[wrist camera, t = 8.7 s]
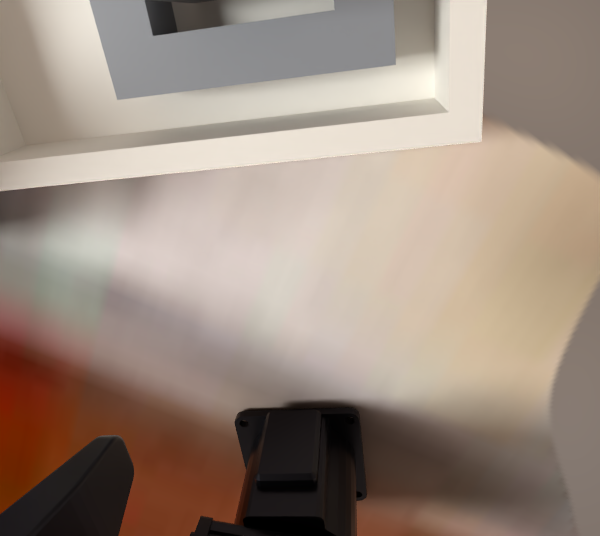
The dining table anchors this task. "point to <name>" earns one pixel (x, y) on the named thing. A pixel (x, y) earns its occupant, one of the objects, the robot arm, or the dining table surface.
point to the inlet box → (230, 83)
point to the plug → (184, 1)
